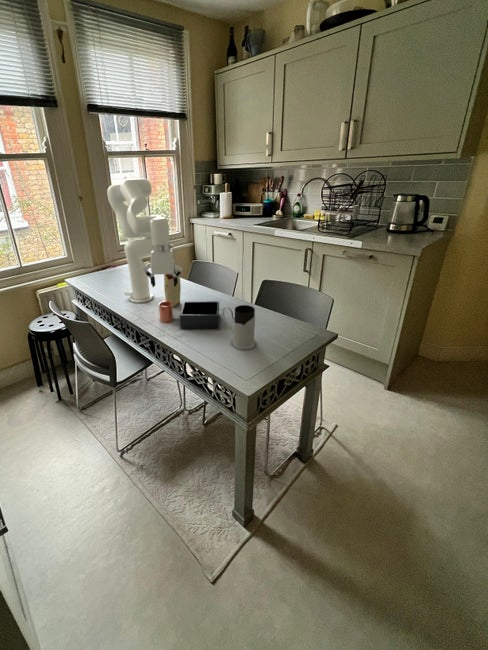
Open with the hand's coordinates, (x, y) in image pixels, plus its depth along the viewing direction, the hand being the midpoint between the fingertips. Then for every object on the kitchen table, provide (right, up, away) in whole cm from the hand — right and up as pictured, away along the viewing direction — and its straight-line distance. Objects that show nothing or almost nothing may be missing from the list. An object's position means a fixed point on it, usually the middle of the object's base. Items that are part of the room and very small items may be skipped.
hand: (164, 285), depth 140 cm
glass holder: (+30, -23, -13) cm, 41 cm away
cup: (0, -15, +7) cm, 17 cm away
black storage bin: (+16, -16, +4) cm, 23 cm away
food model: (+3, -9, +22) cm, 23 cm away
